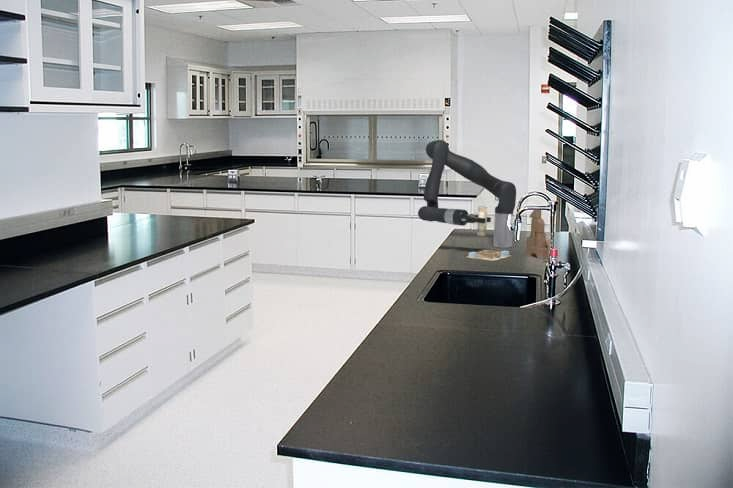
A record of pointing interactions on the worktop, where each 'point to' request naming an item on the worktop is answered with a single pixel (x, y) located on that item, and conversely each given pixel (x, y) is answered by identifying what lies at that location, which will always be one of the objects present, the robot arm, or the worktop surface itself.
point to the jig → (489, 255)
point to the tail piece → (473, 254)
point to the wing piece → (504, 253)
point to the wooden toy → (537, 238)
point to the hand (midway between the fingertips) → (487, 220)
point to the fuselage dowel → (482, 226)
